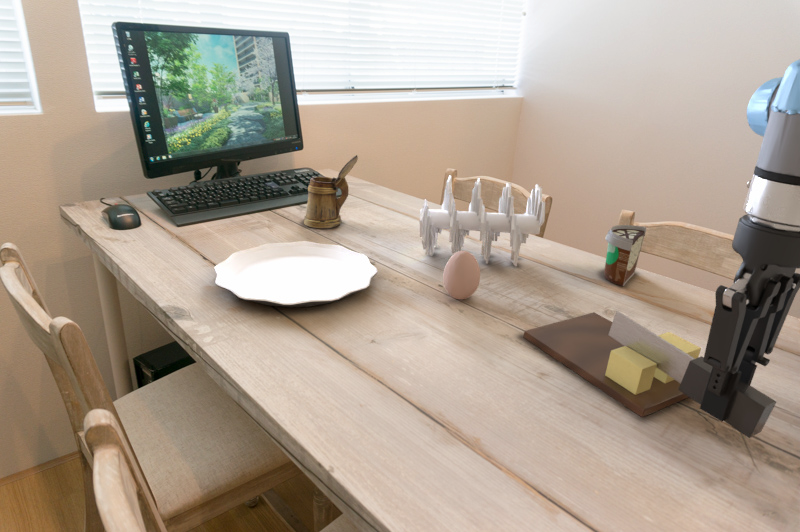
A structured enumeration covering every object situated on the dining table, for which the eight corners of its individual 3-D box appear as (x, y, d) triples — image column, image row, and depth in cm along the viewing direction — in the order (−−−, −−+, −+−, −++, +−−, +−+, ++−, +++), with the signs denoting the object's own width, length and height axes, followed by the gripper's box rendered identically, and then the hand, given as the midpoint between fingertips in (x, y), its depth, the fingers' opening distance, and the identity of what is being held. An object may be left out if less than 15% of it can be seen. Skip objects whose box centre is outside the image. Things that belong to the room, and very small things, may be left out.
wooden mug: (348, 233, 126) (350, 158, 120) (297, 225, 130) (296, 151, 123) (362, 223, 134) (364, 152, 128) (313, 216, 138) (313, 146, 131)
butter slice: (650, 389, 70) (657, 363, 69) (635, 395, 69) (642, 369, 68) (619, 370, 74) (625, 345, 73) (604, 375, 73) (610, 350, 72)
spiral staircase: (422, 262, 122) (533, 270, 119) (412, 255, 105) (542, 264, 101) (428, 184, 124) (538, 189, 120) (419, 165, 106) (547, 170, 102)
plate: (184, 277, 98) (182, 265, 97) (307, 242, 119) (306, 232, 118) (283, 334, 81) (282, 320, 80) (406, 281, 102) (407, 270, 101)
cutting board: (715, 385, 74) (718, 378, 74) (641, 417, 67) (644, 409, 66) (592, 318, 92) (594, 312, 91) (523, 337, 84) (524, 330, 84)
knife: (761, 432, 60) (777, 401, 58) (749, 438, 59) (765, 407, 57) (614, 334, 76) (622, 308, 74) (602, 338, 75) (611, 311, 73)
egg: (484, 303, 95) (490, 255, 92) (453, 308, 92) (458, 260, 89) (464, 288, 101) (469, 243, 97) (434, 293, 98) (438, 247, 94)
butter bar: (693, 372, 75) (701, 347, 74) (665, 383, 72) (672, 358, 70) (662, 355, 79) (669, 331, 78) (633, 365, 76) (640, 341, 74)
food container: (607, 263, 117) (616, 220, 113) (636, 271, 114) (647, 226, 110) (590, 279, 108) (599, 233, 104) (621, 288, 105) (632, 240, 101)
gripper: (783, 204, 61) (726, 377, 69) (703, 219, 53) (650, 410, 62) (861, 222, 55) (788, 409, 64) (782, 242, 47) (712, 450, 56)
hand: (720, 409), depth 63 cm, fingers closed on knife, 2 cm apart
